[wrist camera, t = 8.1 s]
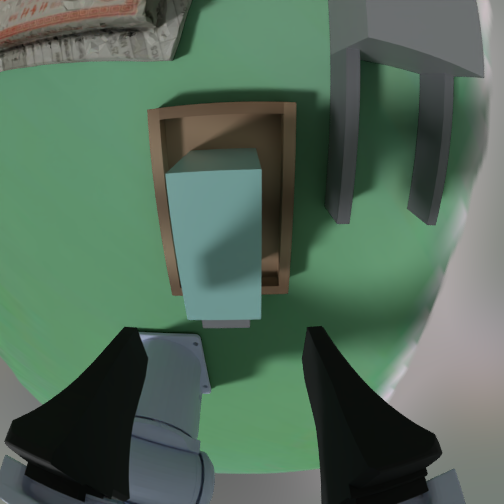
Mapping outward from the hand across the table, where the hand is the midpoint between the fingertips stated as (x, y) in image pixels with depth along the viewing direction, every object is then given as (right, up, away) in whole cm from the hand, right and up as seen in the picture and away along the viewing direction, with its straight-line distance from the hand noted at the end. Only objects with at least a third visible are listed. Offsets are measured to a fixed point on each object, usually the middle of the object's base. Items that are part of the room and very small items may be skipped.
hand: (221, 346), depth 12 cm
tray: (0, +7, +7) cm, 10 cm away
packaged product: (-11, +22, 0) cm, 24 cm away
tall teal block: (0, +7, +7) cm, 10 cm away
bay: (+10, +15, +4) cm, 18 cm away
